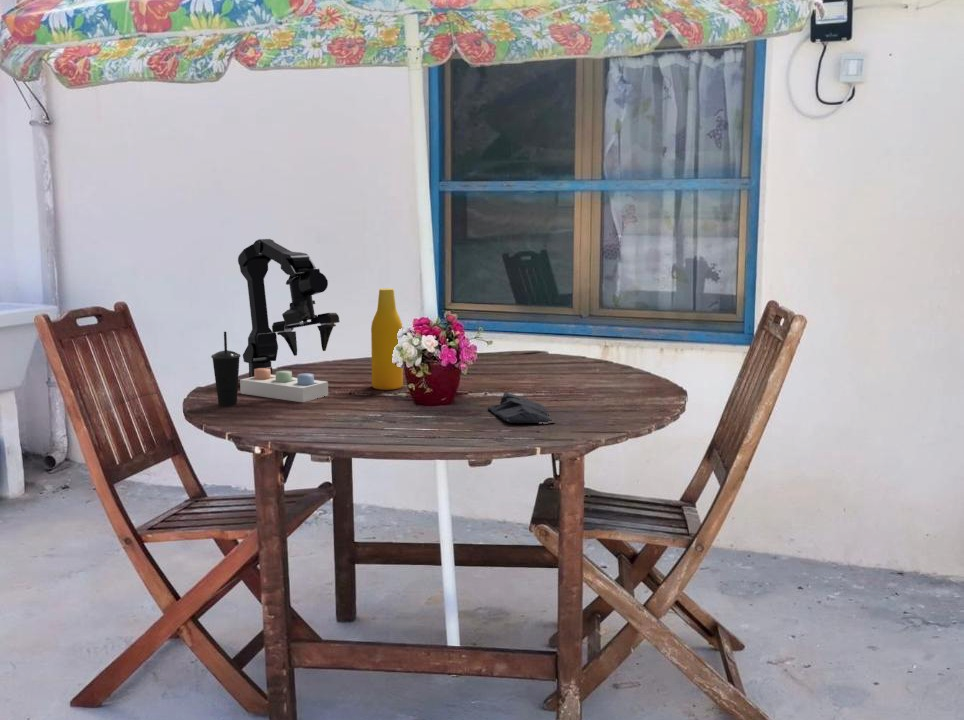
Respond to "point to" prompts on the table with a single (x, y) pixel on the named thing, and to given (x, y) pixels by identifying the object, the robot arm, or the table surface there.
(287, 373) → the button sage
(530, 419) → the dark slate chunk
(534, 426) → the table surface
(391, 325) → the beer bottle
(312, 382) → the button slate
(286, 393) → the console
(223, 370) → the drinking cup
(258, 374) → the button terracotta
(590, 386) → the table surface
